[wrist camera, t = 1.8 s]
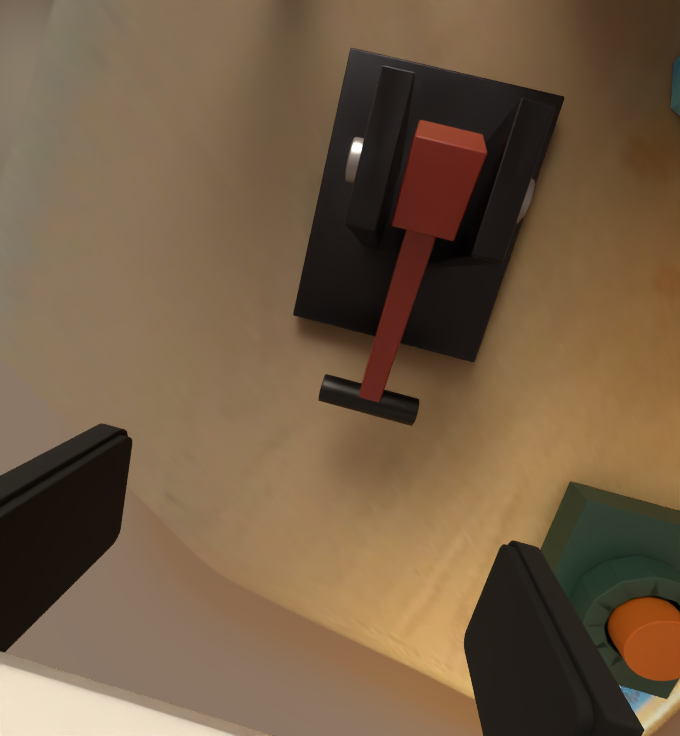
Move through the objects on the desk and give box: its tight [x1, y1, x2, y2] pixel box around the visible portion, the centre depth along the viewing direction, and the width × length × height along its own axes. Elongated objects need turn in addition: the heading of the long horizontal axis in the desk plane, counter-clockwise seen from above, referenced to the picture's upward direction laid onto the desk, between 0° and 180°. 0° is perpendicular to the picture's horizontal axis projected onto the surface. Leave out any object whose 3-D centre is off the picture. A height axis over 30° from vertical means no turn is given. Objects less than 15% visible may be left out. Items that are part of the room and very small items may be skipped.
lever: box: [319, 120, 487, 426], centre depth 17 cm, size 13×5×2 cm, turn 166°
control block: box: [540, 482, 680, 699], centre depth 25 cm, size 12×10×4 cm
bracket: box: [293, 48, 564, 362], centre depth 18 cm, size 14×11×12 cm
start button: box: [608, 596, 680, 681], centre depth 23 cm, size 4×4×2 cm
